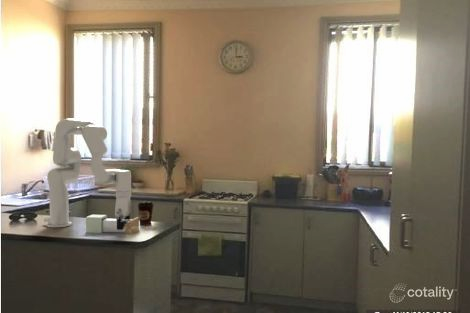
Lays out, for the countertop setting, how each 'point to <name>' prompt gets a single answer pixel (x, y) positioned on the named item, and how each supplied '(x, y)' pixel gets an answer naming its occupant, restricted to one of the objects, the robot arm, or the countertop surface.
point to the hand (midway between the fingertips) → (123, 227)
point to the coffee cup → (145, 212)
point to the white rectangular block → (113, 225)
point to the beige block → (132, 226)
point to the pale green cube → (94, 223)
